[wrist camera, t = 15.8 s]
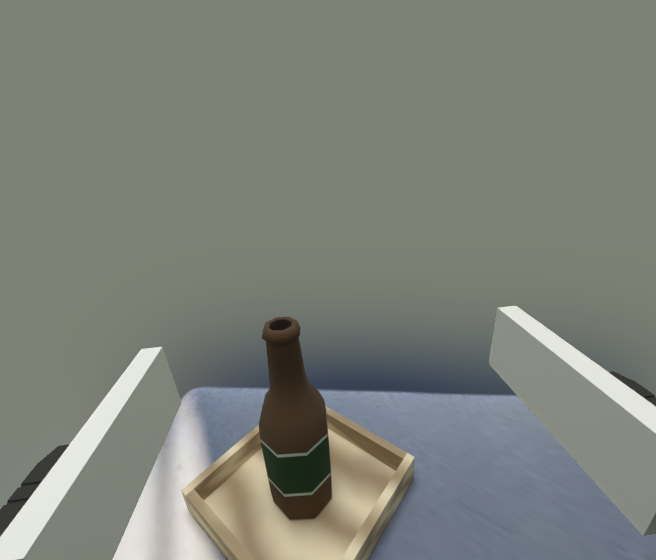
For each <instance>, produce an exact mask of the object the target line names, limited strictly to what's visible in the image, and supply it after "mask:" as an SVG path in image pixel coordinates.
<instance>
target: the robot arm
mask: <svg viewBox="0 0 656 560" xmlns="http://www.w3.org/2000/svg"><path fill="white" fill-rule="evenodd" d="M489 364H490V366H491V367H492V368H493V369H494V370H495V371H496V372H497V373H498V374H499V376H500V377H501V378H502V379H503V380H504V381H505V382H506V383H507V385H509V387H510V388H511V389H512V390H513V391H514V392H515V393H516V395H517V396H518V397H519V398H520V399H521V400H522V401H523V402H524V404H525V405H526V406H527V407H528V408H529V409H530V410H531V411H532V412H533V414H534V415H535V416H536V417H537V418H538V419H539V420H540V421H541V423H542V424H543V425H544V426H545V427H546V428H547V429H548V430H549V431H550V433H551V434H552V435H553V436H554V437H555V438H556V439H557V440H558V442H559V443H560V444H561V445H562V446H563V447H564V448H565V449H566V450H567V452H568V453H569V454H570V455H571V456H572V457H573V458H574V459H575V461H576V462H577V463H578V464H579V465H580V466H581V467H582V468H583V469H584V471H585V472H586V473H587V474H588V475H589V476H590V477H591V478H592V479H593V481H594V482H595V483H596V484H597V485H598V486H599V487H600V488H601V490H602V491H603V492H604V493H605V494H606V495H607V496H608V497H609V498H610V500H611V501H612V502H613V503H614V504H615V505H616V506H617V507H618V509H619V510H620V511H621V512H622V513H623V514H624V515H625V516H626V517H627V519H628V520H629V521H630V522H631V523H632V524H633V525H634V526H635V528H636V529H637V530H638V531H639V532H640V533H641V534H642V535H643V536H646V535H652V534H656V397H655V395H653V394H652V393H651V392H649V391H648V390H647V389H645V388H644V387H642V386H641V385H639V384H638V383H636V382H635V381H633V380H630V379H628V378H626V377H624V376H622V375H620V374H618V373H615V372H607V371H606V370H604V369H603V368H601V367H600V366H599V365H597V364H596V363H595V362H593V361H592V360H590V359H589V358H588V357H586V356H585V355H583V354H582V353H581V352H579V351H578V350H576V349H575V348H574V347H572V346H571V345H570V344H568V343H567V342H565V341H564V340H563V339H561V338H560V337H559V336H557V335H556V334H554V333H553V332H552V331H550V330H549V329H547V328H546V327H545V326H543V325H542V324H540V323H539V322H538V321H536V320H535V319H534V318H532V317H530V316H529V315H528V314H527V313H525V312H524V311H522V310H521V309H520V308H518V307H517V306H509V307H501V308H497V314H496V321H495V327H494V334H493V340H492V346H491V352H490V359H489ZM180 404H181V400H180V397H179V394H178V392H177V388H176V386H175V383H174V380H173V377H172V374H171V371H170V368H169V365H168V362H167V359H166V356H165V353H164V350H163V347H156V348H148V349H141V351H140V352H139V353H138V354H137V356H136V357H135V358H134V360H133V361H132V363H131V364H130V365H129V366H128V368H127V369H126V371H125V372H124V373H123V374H122V376H121V377H120V378H119V380H118V381H117V383H116V384H115V385H114V387H113V388H112V389H111V390H110V392H109V393H108V394H107V396H106V397H105V398H104V400H103V401H102V402H101V404H100V405H99V406H98V408H97V409H96V410H95V412H94V413H93V414H92V416H91V417H90V418H89V420H88V421H87V422H86V424H85V425H84V426H83V428H82V429H81V430H80V432H79V433H78V434H77V436H76V437H75V438H74V440H73V441H72V442H71V443H70V445H63V446H58V447H57V448H56V449H55V450H53V451H52V452H51V453H50V454H49V455H47V456H46V457H45V458H44V459H43V460H42V461H40V462H39V463H38V464H37V465H36V466H35V468H34V469H33V470H32V471H31V472H30V474H29V475H28V476H27V477H26V479H25V480H24V481H23V482H22V484H21V487H20V488H17V490H16V491H15V492H14V493H13V495H12V496H11V497H10V498H9V500H8V503H7V505H4V506H3V507H2V508H1V510H0V560H112V559H113V557H114V554H115V552H116V550H117V548H118V545H119V543H120V541H121V538H122V536H123V534H124V532H125V529H126V527H127V525H128V523H129V520H130V518H131V516H132V513H133V511H134V509H135V507H136V504H137V502H138V500H139V498H140V495H141V493H142V491H143V489H144V486H145V484H146V482H147V479H148V477H149V475H150V473H151V470H152V468H153V466H154V464H155V461H156V459H157V457H158V454H159V452H160V450H161V448H162V445H163V443H164V441H165V439H166V436H167V434H168V432H169V429H170V427H171V425H172V423H173V420H174V418H175V416H176V414H177V411H178V409H179V407H180Z"/></svg>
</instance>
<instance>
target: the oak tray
mask: <svg viewBox="0 0 656 560" xmlns="http://www.w3.org/2000/svg"><path fill="white" fill-rule="evenodd" d="M325 407H326V406H325ZM326 413H327V425H328V437H329V449H330V460H331V480H332V498H331V499H330V500H329V502H328V503H327V504H326V505H325V506H324V507H323V508H322V510H321V511H320V512H319V513H318V514H317V515H316V516H315V518H305V519H291V520H290V519H289V518H288V517H287V516H286V515H285V514H284V513H283V512H282V510H281V509H280V508H279V507H278V506H277V505H276V504H275V503H274V501H273V498H272V494H271V491H270V486H269V481H268V476H267V471H266V466H265V461H264V456H263V451H262V446H261V441H260V434H259V425H258V426H257V427H256V428H254V429H253V430H252V431H251V432H250V433H248V434H247V435H246V436H245V437H244V438H243V439H241V440H240V441H239V442H238V443H237V444H235V445H234V446H233V447H232V448H231V449H230V450H228V451H227V452H226V453H225V454H224V455H222V456H221V457H220V458H219V459H218V460H217V461H215V462H214V463H213V464H212V465H211V466H210V467H208V468H207V469H206V470H205V471H204V472H202V473H201V474H200V475H199V476H198V477H197V478H195V479H194V480H193V481H192V482H191V483H189V484H188V485H187V486H186V487H185V488H184V489H182V490H181V491H182V494H183V496H184V499H185V502H186V504H187V507H188V510H189V512H190V513H191V515H192V516H193V517H194V518H195V520H196V521H197V522H198V523H199V525H200V526H201V527H202V528H203V530H204V531H205V532H206V533H207V535H208V536H209V537H210V538H211V540H212V541H213V542H214V543H215V545H216V546H217V547H218V549H219V550H220V551H221V552H222V554H223V555H224V556H225V557H226V559H227V560H368V559H369V557H370V555H371V553H372V551H373V550H374V548H375V546H376V544H377V543H378V541H379V539H380V537H381V535H382V534H383V532H384V530H385V528H386V527H387V525H388V523H389V521H390V519H391V518H392V516H393V514H394V512H395V510H396V509H397V507H398V505H399V503H400V502H401V500H402V498H403V496H404V494H405V493H406V491H407V489H408V487H409V486H410V484H411V482H412V480H413V475H414V460H415V457H413V456H412V455H410V454H408V453H406V452H405V451H403V450H401V449H399V448H398V447H396V446H394V445H392V444H391V443H389V442H387V441H385V440H384V439H382V438H380V437H378V436H377V435H375V434H373V433H371V432H370V431H368V430H366V429H364V428H363V427H361V426H359V425H357V424H356V423H354V422H352V421H351V420H349V419H347V418H345V417H344V416H342V415H340V414H338V413H337V412H335V411H333V410H331V409H330V408H328V407H326Z"/></svg>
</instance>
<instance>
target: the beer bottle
mask: <svg viewBox="0 0 656 560" xmlns="http://www.w3.org/2000/svg"><path fill="white" fill-rule="evenodd" d="M299 335H300V326H299V324H298V322H297V321H296V320H294V319H292V318H290V317H278V318H274V319H272V320H270V321H268V322H266V323H265V326H264V329H263V335H262V339H264V340H265V341H266V346H267V357H268V367H269V379H270V389H269V390H268V392H267V393H266V395H265V399H264V403H263V407H262V412H261V417H260V422H259V434H260V441H261V446H262V451H263V456H264V461H265V466H266V471H267V476H268V481H269V486H270V491H271V494H272V498H273V501H274V503H275V504H276V505H277V506H278V507H279V508H280V509H281V510H282V512H283V513H284V514H285V515H286V516H287V517H288V518H289V519H290V520H291V519H305V518H315V516H316V515H317V514H318V513H319V512H320V511H321V510H322V508H323V507H324V506H325V505H326V504H327V503H328V502H329V500H330V499H331V498H332V480H331V460H330V449H329V437H328V425H327V413H326V407H325V402H324V399H323V398H322V396H321V394H320V393H319V391H318V390H316V389H315V388H314V387H313V386H312V385H310V384H309V382H308V379H307V377H306V373H305V369H304V365H303V358H302V353H301V348H300V342H299Z"/></svg>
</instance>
